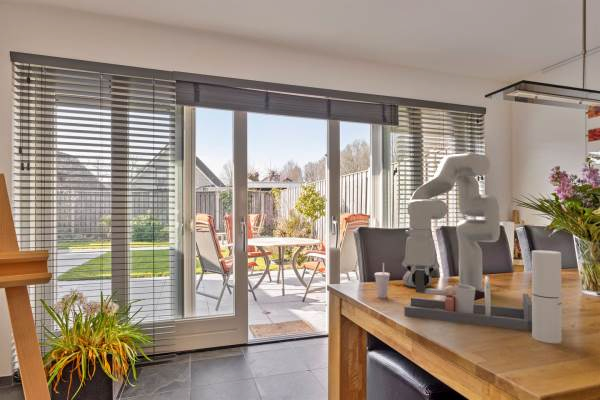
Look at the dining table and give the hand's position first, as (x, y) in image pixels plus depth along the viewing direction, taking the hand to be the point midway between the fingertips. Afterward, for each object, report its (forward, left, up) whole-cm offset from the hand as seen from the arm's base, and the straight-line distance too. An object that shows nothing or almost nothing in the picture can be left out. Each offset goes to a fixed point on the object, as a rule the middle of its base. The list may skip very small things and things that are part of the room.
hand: (420, 284), depth 136 cm
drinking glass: (0, +14, -10) cm, 17 cm away
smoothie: (-15, -17, -10) cm, 25 cm away
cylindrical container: (+13, +37, -10) cm, 40 cm away
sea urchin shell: (-43, -7, -10) cm, 45 cm away
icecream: (-19, +16, -10) cm, 27 cm away
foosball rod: (0, +5, -9) cm, 11 cm away
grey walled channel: (0, +16, -10) cm, 18 cm away
